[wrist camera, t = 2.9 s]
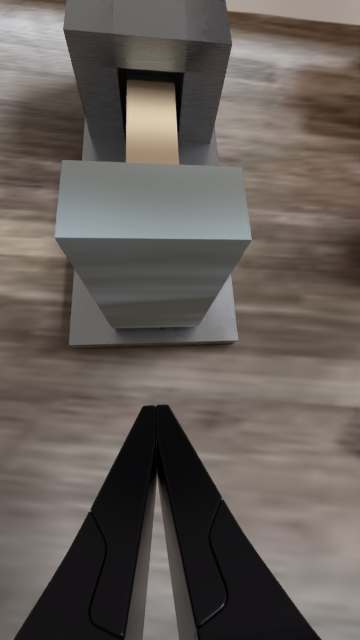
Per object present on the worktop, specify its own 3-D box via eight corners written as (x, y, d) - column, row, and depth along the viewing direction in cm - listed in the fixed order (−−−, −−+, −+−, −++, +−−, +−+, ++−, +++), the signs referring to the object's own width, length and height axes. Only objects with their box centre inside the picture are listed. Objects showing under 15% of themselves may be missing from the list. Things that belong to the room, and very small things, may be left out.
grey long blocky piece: (233, 343, 17) (284, 309, 10) (73, 348, 16) (15, 313, 9) (206, 81, 24) (226, -44, 17) (91, 72, 23) (65, -64, 16)
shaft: (197, 327, 16) (251, 239, 7) (112, 329, 15) (54, 237, 6) (184, 131, 20) (207, -77, 11) (117, 128, 19) (86, -93, 11)
